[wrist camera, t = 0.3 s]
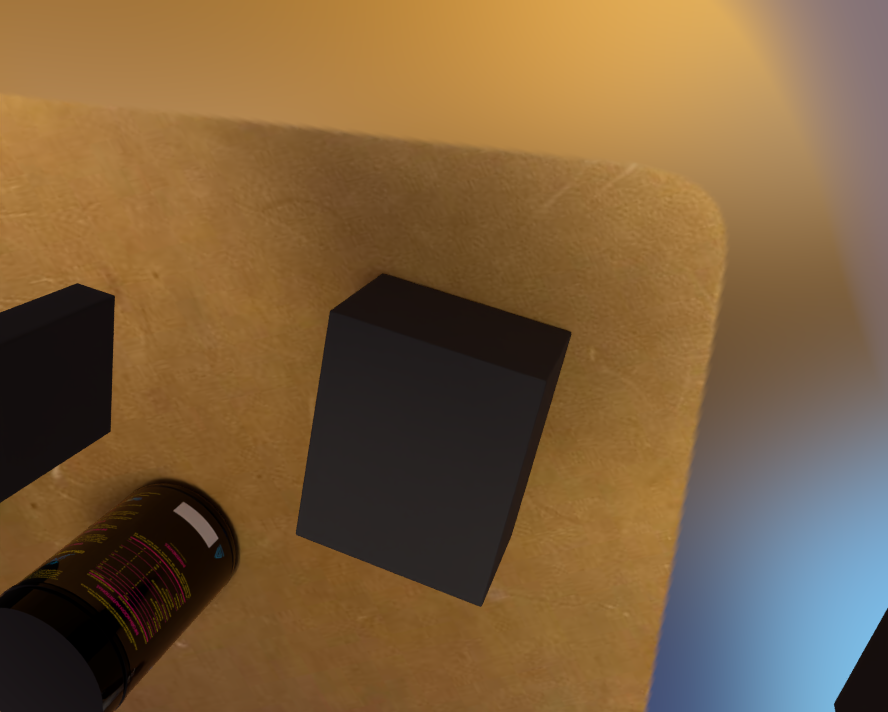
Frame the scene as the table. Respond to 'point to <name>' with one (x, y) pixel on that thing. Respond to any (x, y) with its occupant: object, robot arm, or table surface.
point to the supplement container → (112, 602)
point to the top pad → (426, 432)
